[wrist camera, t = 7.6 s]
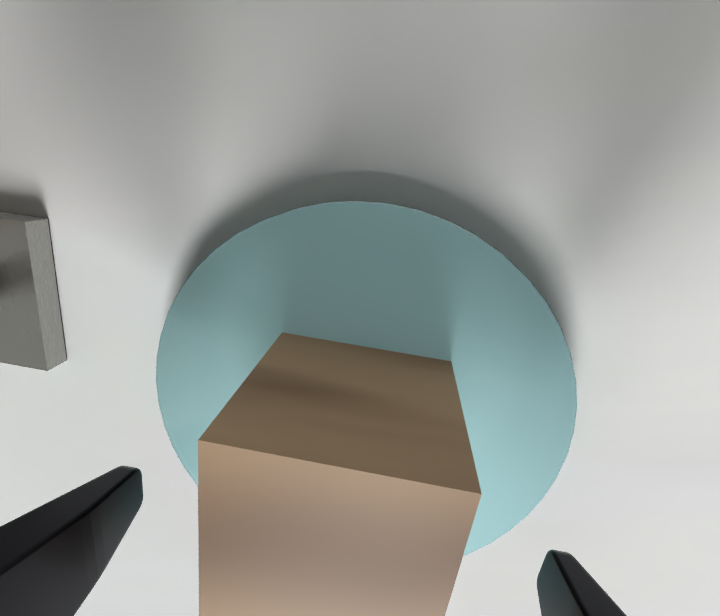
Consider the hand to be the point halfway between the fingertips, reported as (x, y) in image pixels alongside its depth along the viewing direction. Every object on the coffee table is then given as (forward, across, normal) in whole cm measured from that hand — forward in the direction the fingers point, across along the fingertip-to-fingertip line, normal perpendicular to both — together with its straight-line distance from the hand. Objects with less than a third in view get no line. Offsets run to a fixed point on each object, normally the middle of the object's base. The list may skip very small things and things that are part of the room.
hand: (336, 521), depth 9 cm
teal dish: (+5, 0, 0) cm, 5 cm away
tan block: (+4, 0, 0) cm, 4 cm away
